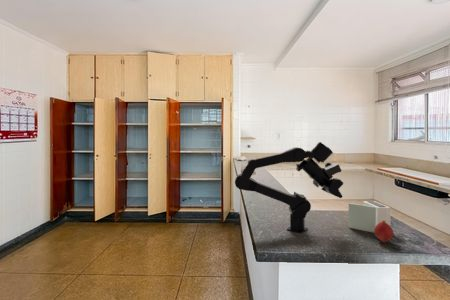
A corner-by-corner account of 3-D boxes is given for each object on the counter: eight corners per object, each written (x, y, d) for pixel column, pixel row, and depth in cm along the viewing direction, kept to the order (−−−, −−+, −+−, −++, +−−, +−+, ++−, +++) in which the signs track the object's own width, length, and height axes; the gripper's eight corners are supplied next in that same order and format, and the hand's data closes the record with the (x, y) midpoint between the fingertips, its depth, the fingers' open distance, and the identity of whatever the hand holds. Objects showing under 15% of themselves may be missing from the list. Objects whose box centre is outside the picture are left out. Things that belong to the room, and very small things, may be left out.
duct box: (377, 233, 104) (377, 207, 104) (363, 224, 115) (363, 200, 115) (390, 232, 104) (390, 206, 104) (374, 223, 115) (374, 200, 115)
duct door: (375, 232, 104) (375, 207, 103) (348, 227, 111) (348, 203, 110) (376, 232, 104) (376, 206, 104) (349, 226, 111) (349, 203, 111)
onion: (370, 239, 98) (370, 218, 98) (385, 238, 98) (385, 217, 98) (381, 245, 92) (381, 222, 92) (397, 244, 92) (397, 222, 92)
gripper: (337, 158, 99) (367, 187, 99) (319, 155, 118) (344, 179, 118) (316, 179, 99) (346, 208, 100) (302, 173, 118) (327, 197, 118)
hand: (341, 197), depth 109 cm, fingers closed
